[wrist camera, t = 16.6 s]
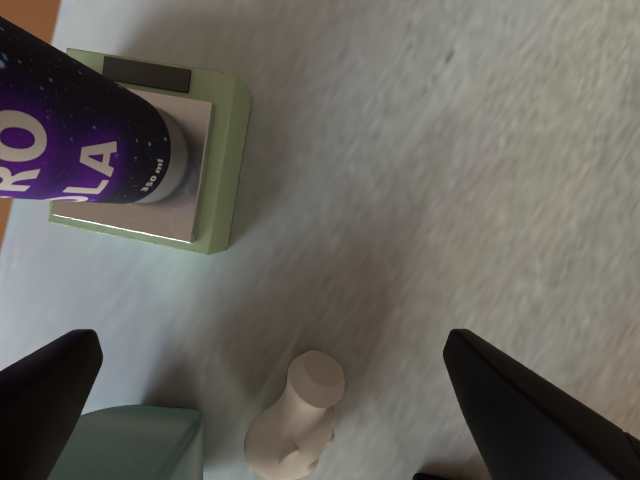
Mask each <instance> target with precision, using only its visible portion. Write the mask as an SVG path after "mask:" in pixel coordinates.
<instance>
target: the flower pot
mask: <svg viewBox="0 0 640 480" xmlns="http://www.w3.org/2000/svg"><path fill="white" fill-rule="evenodd" d="M47 480H203V414H202V413H201V412H200V411H198V410H193V409H181V408H169V407H159V406H149V405H126V406H118V407H111V408H106V409H101V410H97V411H94V412H90V413H87V414H84V415H81V416H80V417H79V419H78V422H77V424H76V426H75V428H74V430H73V432H72V434H71V436H70V438H69V440H68V442H67V444H66V446H65V448H64V449H63V451H62V453H61V455H60V457H59V459H58V460H57V462H56V464H55V466H54V468H53V470H52V471H51V473H50V475H49V477H48V479H47Z"/></svg>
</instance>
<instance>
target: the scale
mask: <svg viewBox="0 0 640 480" xmlns="http://www.w3.org/2000/svg"><path fill="white" fill-rule="evenodd" d="M66 54H67V55H69V56H70V57H72V58H74V59H76V60H77V61H79V62H81V63H83V64H84V65H86V66H88V67H89V68H91V69H93V70H95V71H96V72H98V73H100V74H102V75H103V76H105V77H107V78H109V79H110V80H112V81H114V82H116V83H117V84H119V85H121V86H123V87H124V88H130V89H136V90H142V91H148V92H154V93H160V94H166V95H172V96H178V97H184V98H189V99H195V100H201V101H207V102H212V103H213V104H214V105H216V112H215V119H214V125H213V132H212V139H211V145H210V152H209V158H208V165H207V172H206V178H205V185H204V191H203V198H202V205H201V211H200V218H199V224H198V231H197V238H196V242H195V243H186V242H181V241H176V240H172V239H167V238H162V237H157V236H152V235H147V234H142V233H138V232H133V231H128V230H123V229H118V228H113V227H108V226H103V225H99V224H94V223H89V222H84V221H79V220H74V219H69V218H65V217H60V216H55V215H52V206H53V200H51V203H50V213H49V222H50V223H54V224H59V225H64V226H69V227H74V228H78V229H83V230H88V231H93V232H98V233H102V234H107V235H112V236H117V237H122V238H127V239H131V240H136V241H141V242H146V243H151V244H155V245H160V246H165V247H170V248H175V249H179V250H184V251H189V252H194V253H199V254H204V255H211V254H215V253H218V252H222V251H225V250H227V249H228V243H229V236H230V230H231V224H232V218H233V212H234V206H235V199H236V193H237V187H238V181H239V175H240V168H241V162H242V156H243V150H244V144H245V138H246V131H247V125H248V119H249V113H250V107H251V100H252V94H251V93H250V91H249V90H248V89H247V88H246V86H245V85H244V84H243V83H242V81H241V80H240V79H239V78H238V76H237V75H234V74H228V73H221V72H215V71H209V70H203V69H196V68H190V67H184V66H177V65H171V64H165V63H159V62H152V61H146V60H140V59H134V58H127V57H121V56H115V55H109V54H102V53H96V52H90V51H83V50H77V49H71V48H67V50H66Z"/></svg>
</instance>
